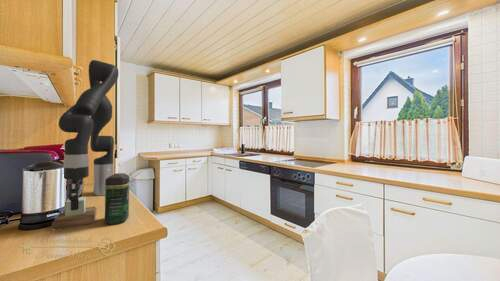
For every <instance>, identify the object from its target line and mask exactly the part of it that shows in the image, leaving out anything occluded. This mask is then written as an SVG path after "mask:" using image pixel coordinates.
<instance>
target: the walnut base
mask: <svg viewBox="0 0 500 281" xmlns="http://www.w3.org/2000/svg"><path fill="white" fill-rule="evenodd" d="M97 212H98V211H97V207H96V206H89V207H88V206H87V207H86V210H85V213H84V214H81V215H74V216H67V217H65V211H64V212H63V213H61V214H59V213H58V214H59V215H58V214H57V216H56V217H55V219H54V220H53V222H52V223H51V230H52V229H55V230H60V229H59V228H61V229H66V228H65V227H67V228H73V227H79V226H84V225H90V224H95V221H96V217H97Z"/></svg>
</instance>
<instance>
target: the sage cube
mask: <svg viewBox="0 0 500 281" xmlns="http://www.w3.org/2000/svg"><path fill="white" fill-rule="evenodd" d="M86 201H87V199H86V196H82V197H79V208H78V210H73V211H72V210H71V201H70V200H69V198H68V199H67V201H66V202H65V217H67V216H74V215H81V214H84V213H85V210H86V208H87V207H86V205H87V204H86Z"/></svg>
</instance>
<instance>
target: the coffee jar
mask: <svg viewBox="0 0 500 281" xmlns="http://www.w3.org/2000/svg"><path fill="white" fill-rule="evenodd" d="M104 196H105V197H104V223H105V224H108V225H118V224H120V223H124V222H126V221H127V220H128V218H129V215H130V214H129V213H130V210H129V209H130V176H129V175H128V174H127V173H126V172H125V173H123V172H121V173H120V172H119V173H113V175H112V176H109V177H108V178H106V180H105V195H104Z"/></svg>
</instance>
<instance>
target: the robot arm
mask: <svg viewBox="0 0 500 281" xmlns="http://www.w3.org/2000/svg"><path fill="white" fill-rule="evenodd" d="M118 79H119V68H118V66H116V65H114V64H112V63H108V62H104V61H101V60H97V59H92V60H91V61H90V62H89V64H88V80H89V88H88V89H86V90H85V91H83V92H82V93H81V94H80V95H79V97H78V99H77V100H76V102H75V104H74V105H72V106H71V107H70V108H69V109H68V110H67V109H66V111H64V113H62V114H61V116H60V117H59V119H58V128H59V129H60V130H61V131H62V132H65V133H69V134H70V133H75V134H76V133H77V134H76V136H75V137H74V138H70V139H66V140H65V142H64V157H63V174H64V178H65V179H71V180H72V181H71V183H70V184H69V200H70V201H71V210H72V211H73V210H78V208H79V197H83V195H82V194H83V191H84V184H85V183H84V179H85V178H88V177H89V176H90V172H89V171H90V170H89V169H90V167H89V165H90V164H89V163H90V161H89V160H90V159H89V158H90V157H89V143H90V149H91V151H92V152H95V153H106V154H104V155H102V156H100V157H97V158H94V159H93V195H94V196H105V180H106V178H108V177H109V176H112V175H114V148H115V140H114V137H113V136H111V135H99V134H100V133H101V131H102V130H103V129H104V127H106V126H107V124H109V123H110V122H111V120H112V118H113V105H112V103H111V101H110V99H109V97H108V96H107V94H108V93H109V92H110V90H111V89H112V88H113V86H114V85H115V84H116V82H117V81H118ZM89 141H90V142H89ZM73 195H75V196H74V197H72V196H73Z"/></svg>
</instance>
